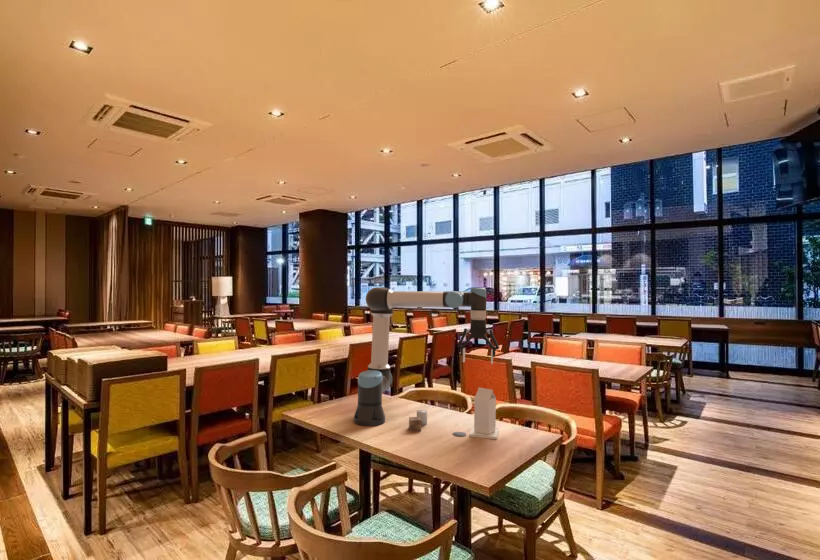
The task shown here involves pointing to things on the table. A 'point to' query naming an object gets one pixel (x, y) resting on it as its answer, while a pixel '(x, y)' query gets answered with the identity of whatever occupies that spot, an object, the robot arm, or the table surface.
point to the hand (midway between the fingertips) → (477, 362)
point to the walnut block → (415, 423)
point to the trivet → (480, 435)
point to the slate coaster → (459, 434)
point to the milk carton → (485, 411)
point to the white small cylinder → (422, 416)
